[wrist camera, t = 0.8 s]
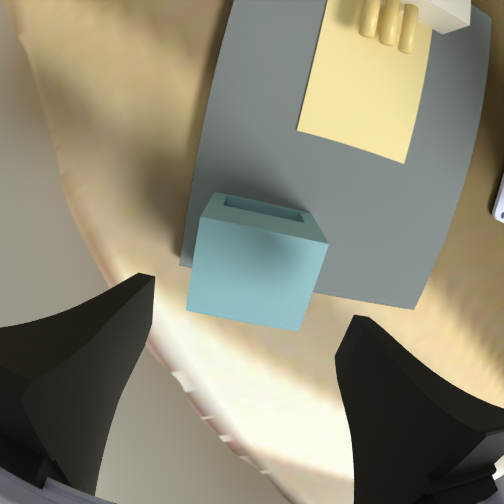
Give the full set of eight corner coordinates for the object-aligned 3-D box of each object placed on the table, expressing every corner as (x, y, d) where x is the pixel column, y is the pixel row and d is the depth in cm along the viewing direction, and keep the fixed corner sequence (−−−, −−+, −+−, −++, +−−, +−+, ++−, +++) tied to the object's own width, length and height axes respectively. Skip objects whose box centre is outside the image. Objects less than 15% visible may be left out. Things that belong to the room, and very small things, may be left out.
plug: (311, 213, 17) (328, 244, 13) (289, 284, 19) (298, 331, 15) (214, 191, 17) (200, 216, 13) (200, 267, 19) (186, 310, 14)
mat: (485, 19, 12) (492, 17, 11) (409, 304, 20) (414, 310, 20) (259, -71, 11) (259, -78, 10) (182, 259, 19) (178, 266, 18)
